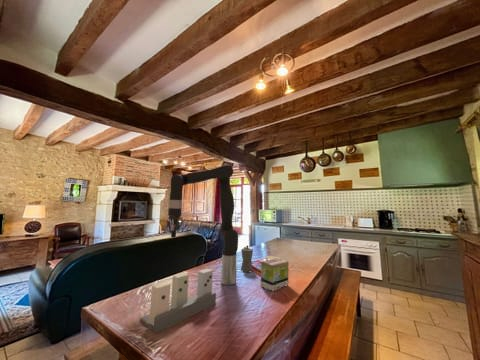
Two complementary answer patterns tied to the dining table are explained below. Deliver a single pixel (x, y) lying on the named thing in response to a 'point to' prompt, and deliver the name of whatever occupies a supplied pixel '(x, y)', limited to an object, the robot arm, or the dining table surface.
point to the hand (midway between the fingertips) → (173, 237)
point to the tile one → (159, 300)
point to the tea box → (274, 274)
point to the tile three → (204, 282)
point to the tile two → (179, 290)
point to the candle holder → (271, 257)
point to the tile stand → (180, 312)
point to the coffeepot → (247, 259)
